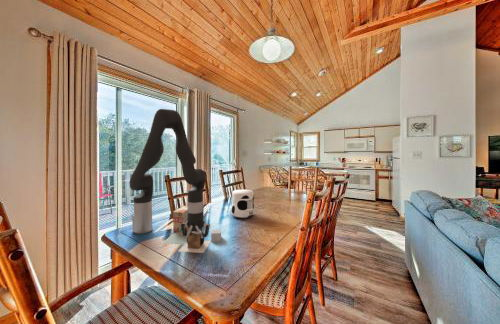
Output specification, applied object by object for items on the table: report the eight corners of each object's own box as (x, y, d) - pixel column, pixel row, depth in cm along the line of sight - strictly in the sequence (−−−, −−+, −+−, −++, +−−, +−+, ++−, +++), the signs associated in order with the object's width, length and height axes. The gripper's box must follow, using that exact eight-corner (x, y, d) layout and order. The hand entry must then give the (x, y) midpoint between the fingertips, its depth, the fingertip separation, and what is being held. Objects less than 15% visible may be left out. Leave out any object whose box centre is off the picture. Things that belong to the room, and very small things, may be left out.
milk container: (233, 211, 151) (234, 188, 150) (256, 213, 149) (256, 189, 148) (228, 219, 134) (228, 193, 133) (253, 221, 132) (253, 194, 131)
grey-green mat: (161, 244, 98) (161, 243, 98) (172, 234, 109) (172, 233, 108) (183, 245, 97) (183, 244, 97) (191, 236, 108) (191, 234, 107)
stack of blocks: (191, 219, 133) (191, 201, 133) (199, 220, 132) (199, 202, 131) (173, 232, 112) (172, 211, 112) (183, 233, 111) (182, 212, 110)
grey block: (211, 243, 100) (211, 233, 100) (211, 238, 105) (211, 229, 104) (221, 242, 101) (221, 233, 100) (220, 238, 106) (220, 229, 105)
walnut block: (187, 248, 93) (187, 235, 93) (192, 242, 98) (192, 231, 98) (199, 248, 92) (199, 236, 92) (203, 243, 98) (203, 231, 98)
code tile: (178, 252, 90) (178, 251, 90) (188, 240, 102) (188, 239, 102) (203, 254, 89) (203, 252, 89) (211, 241, 101) (211, 240, 101)
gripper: (177, 212, 91) (177, 247, 92) (207, 213, 90) (207, 249, 91) (184, 207, 99) (184, 240, 100) (212, 208, 97) (212, 241, 98)
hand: (195, 244), depth 95 cm, fingers closed on walnut block, 5 cm apart
